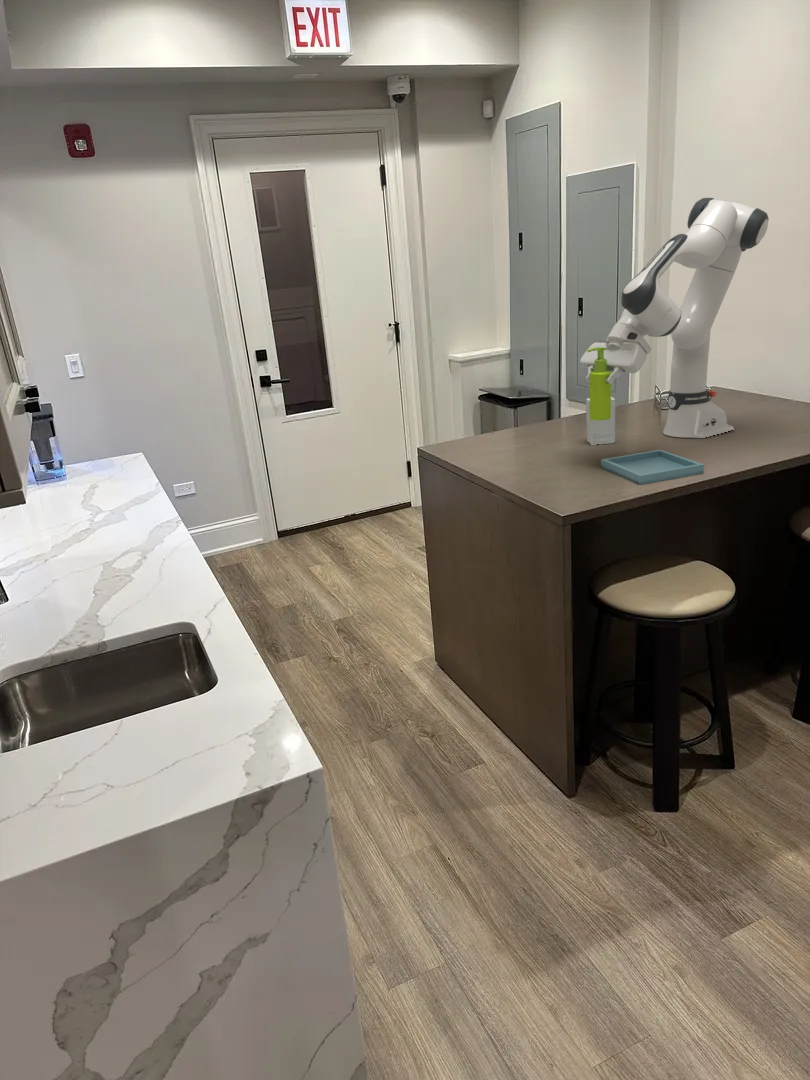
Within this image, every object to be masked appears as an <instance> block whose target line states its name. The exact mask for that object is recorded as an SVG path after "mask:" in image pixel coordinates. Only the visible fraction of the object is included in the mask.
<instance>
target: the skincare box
mask: <svg viewBox="0 0 810 1080" xmlns="http://www.w3.org/2000/svg"><path fill="white" fill-rule="evenodd" d="M585 407H586V408H585V412H586V417H585V418H586V419H585V422H586V441H587V443H588V442H589V443H590V444H591V445H590V444H589V443H588V444H589V445H590V446H596V445H597V444H599V445H605V444H607V445H608V444H615V443H616V399H615V398H614V397H613V396H611V418H610V419H608V420H591V419H590V397H589V398H585Z"/></svg>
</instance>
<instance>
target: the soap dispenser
mask: <svg viewBox="0 0 810 1080" xmlns="http://www.w3.org/2000/svg"><path fill="white" fill-rule="evenodd" d="M587 349H588V348H587ZM587 349H586V350H585V352H586V351H587V352H591V351H597V350H598V359H596V360H594V372H591V373H590V382H589V398H590V419H591V420H608V419H610V418H611V397H612V384H607V383H606V382H605V378H606V377H607V375H610V374H612V371H607V359H605V358H604V350H607V348H605V347H596V348H590V349H588V350H587Z"/></svg>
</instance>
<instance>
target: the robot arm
mask: <svg viewBox="0 0 810 1080" xmlns="http://www.w3.org/2000/svg"><path fill="white" fill-rule="evenodd" d="M769 220H770V219H769V216H768V212H766V211H764V210H762V209H761V208H757V207H756V208H754V207H753V206H749V205H747V204H744V203H740V202H737V201H729V200H723V199H715V198H714V197H702V198H701V199H699V200H696V202H695V203H694V205H693V206H692V208H691V210H690V212H689V215H688V219H687V223H686V224H687V228H688V230H687V231H686V233H679V234H677V235H675V236H673V237H672V238H670V239H668V241H667V242H665V244H664V245H663V246H662V247H660V249H659V250H658V251H657V252H656V253H655V254H654V256H653V257H652V258H651V259H650V260H649V261H648V262H647V264H646V265H645V266H644V267H643V268H642V269H641V270H640V271H639V273H637V275H635V276H634V277H633V278H632V279H631V280H630V281H628V283H627V284H626V285H625V286H624V287H623V289H622V292H621V299H620V301H621V306H622V308H624V310H623V311H622V313H621V316H620V318H619V320H618V321H617V322H615V324H614V325H613V328H612V329H611V330H610V332H609V334H608V335H607V337H606V339H605V340H602V339H599V340H598V341H596V342H594V343H592V344H591V345H589V347H588V348H587V349H586V350H588V349H590V348H596V347H605V348H607V350H604V358H605V359H607V371H610V372H611V374H610V375H607V377H606V378H605V382H606V383H607V384H611V385H612V384H613V382H614V381H615V380H616V379H617V378H618V377H621V375H622V374H623V373H625V374H636V373H638V372H639V371H640V370H641V369H642V367H643V365H644V364H645V362H646V359H647V356H648V355H649V354H650V353H651V352H652V348H651V346H650V343H648V341H646V339H645V338H644V337H645V336H649V337H654V338H655V337H657V338H659V337H666V336H671V339H672V342H673V347H672V355H671V357H672V358H671V364H670V365H671V366H670V381H669V383H670V384H669V385H670V386H669V391H668V395H667V396H668V398H667V402H668V411H667V412H668V413H667V417H666V422H665V425H664V429H663V431H662V433H663V434H664V435H665V436H668V437H674V438H694V439H706V437H707V438H710V436H711V437H714V436H713V435H715V436H718V435H717V434H719V435H722V434H721V433H723V434H725V433H724V432H727V433H729V432H728V431H731V430H734V431H735V428H734V426H732V425H731V424H728V422H727V421H728V420H727V415H726V412H725V411H724V410H723V409H722V408H721V407H719V406H718V405H717V404H715V403H714V402H712V401H711V398H715V397H717V395H718V392H717V391H716V390H708V389H707V381H708V364H709V355H710V354H709V353H710V341H711V330H712V327H713V325H714V322H715V319H716V317H717V315H718V313H719V311H720V308H721V306H722V304H723V301H724V300H725V296H726V294H727V292H728V290H729V287H730V284H731V282H732V280H733V277H734V275H735V274H736V273H735V272H736V271H737V268H738V266H739V263H740V261H741V260H740V259H741V255H742V253H743V252H745V251H746V250H748V249H752V248H754V247H756V246H758V245H759V243H760V242H761V241H762V239H764V237H765V236H766V233H767V230H768V226H769ZM674 263H677V264H679V265H681V266H683V267H685V268H689V269H695V271H694V273H693V276H692V278H691V281H690V284H689V286H688V288H687V291H686V293H685V296H684V298H683V300H682V303H681V305H680V308H679V307H678V305H677V304H676V303H675V302H674V300H672V298H671V297H670V296H668V294H667V293H666V292H665V291H664V290H663V289H662V287H661V285H660V278H661V277H662V276H663V275H664V274H665V273H666V271H667V270H668V269H669V267H670V266H671V265H672V264H674ZM586 350H585V352H584V353H583V355H581V358H580V359H579V363H580V365H581V366H582V367H583V369H585V370H588V371H587V375H586V377H585V380H586V381H587V382H588V383H590V373H591V372H594V360H596V359H598V350H597V351H591V352H587V351H586ZM710 397H711V398H710ZM731 432H732V431H731Z"/></svg>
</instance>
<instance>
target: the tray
mask: <svg viewBox="0 0 810 1080" xmlns="http://www.w3.org/2000/svg"><path fill="white" fill-rule="evenodd" d="M601 467H602V468H601ZM600 468H601V469H603V468H604V469H603V470H605V469H606V470H605V471H607V470H608V472H610V473H612V474H614V473H615V474H614V475H616V474H617V476H619V477H622V478H624V479H626V480H628V481H629V482H630V481H631V482H632V481H633V483H635V484H637V485H646V484H651V483H658V482H662V481H663V480H664V481H669V480H674V479H680V478H684V477H685V476H686V477H691V475H692V476H697V475H701V473H703V474H704V471H705V464H704V463H701V462H698V461H695V460H692V459H690V458H686V457H683V456H681V455H678V454H675V453H671V452H670V451H667V450H663V449H656V450H650V451H645V452H644V451H643V452H638V453H632V454H631V453H630V454H626V455H620V456H619V455H618V456H615V457H614V456H613V457H607V458H603V459H600ZM696 474H697V475H696ZM679 477H680V478H679ZM668 479H669V480H668Z"/></svg>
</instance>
